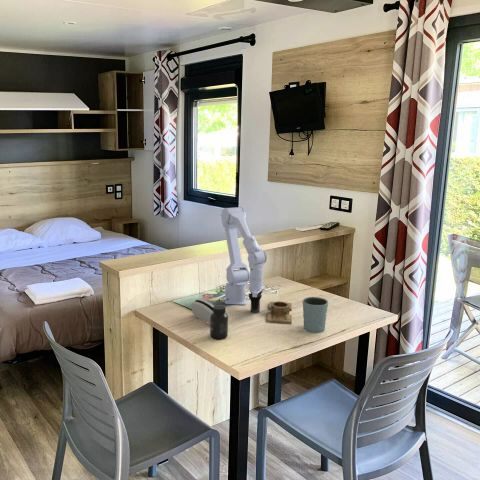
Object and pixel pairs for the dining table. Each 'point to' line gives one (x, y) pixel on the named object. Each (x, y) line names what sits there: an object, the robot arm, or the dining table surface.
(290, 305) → the hinge leaves
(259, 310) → the pin
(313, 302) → the teal cup
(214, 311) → the supplement bottle
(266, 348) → the dining table surface
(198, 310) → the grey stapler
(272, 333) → the dining table surface
